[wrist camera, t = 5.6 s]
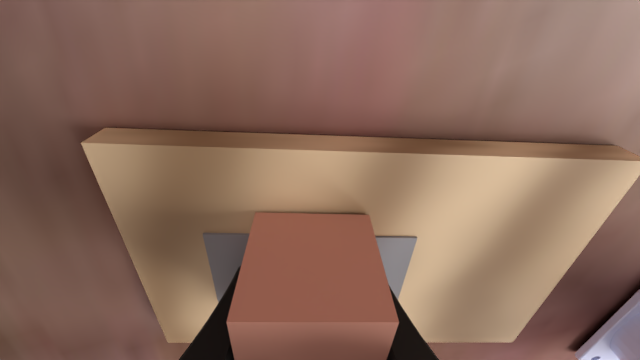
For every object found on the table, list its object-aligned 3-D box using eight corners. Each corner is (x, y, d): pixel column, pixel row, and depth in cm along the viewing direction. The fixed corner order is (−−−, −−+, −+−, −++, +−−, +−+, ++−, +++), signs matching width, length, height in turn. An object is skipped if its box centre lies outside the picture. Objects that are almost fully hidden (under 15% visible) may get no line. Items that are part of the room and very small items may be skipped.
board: (616, 145, 10) (653, 162, 9) (499, 321, 16) (513, 344, 15) (105, 127, 9) (78, 144, 8) (177, 320, 15) (167, 344, 14)
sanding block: (369, 214, 10) (399, 322, 7) (351, 315, 13) (365, 423, 10) (255, 212, 10) (226, 322, 6) (264, 315, 13) (248, 425, 10)
